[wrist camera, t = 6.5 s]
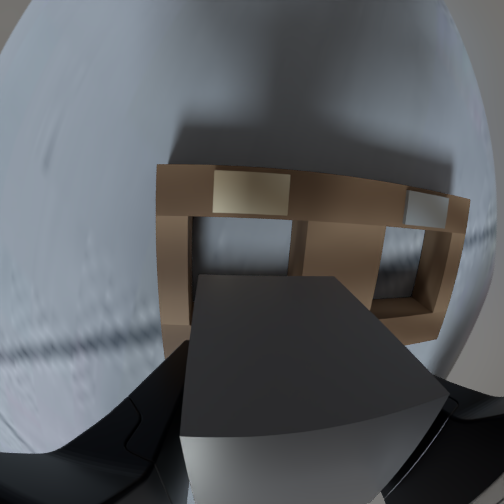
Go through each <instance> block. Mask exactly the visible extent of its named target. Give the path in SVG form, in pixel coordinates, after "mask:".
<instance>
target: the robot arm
mask: <svg viewBox="0 0 504 504" xmlns="http://www.w3.org/2000/svg"><path fill="white" fill-rule="evenodd" d="M188 348H189V340H185V341H184V342H183V343H182V344H181V345H180V346H179V347H178V348H177V349H176V350H175V351H174V352H173V353H172V354H171V355H170V356H169V357H167V358H166V359H165V360H164V361H163V362H162V363H161V364H160V365H159V366H158V367H157V368H156V369H155V370H154V371H153V372H152V373H151V374H150V375H149V376H148V377H147V378H146V379H145V380H144V381H143V382H142V383H141V384H140V385H139V386H138V387H137V388H136V389H135V390H134V391H133V392H132V393H131V394H130V395H129V396H128V397H126V398H125V399H124V400H123V401H122V402H121V403H120V404H119V405H118V406H117V407H116V408H114V409H113V410H112V411H111V412H110V413H109V414H108V415H106V416H105V417H104V418H102V419H101V420H100V421H99V422H97V423H96V424H95V425H93V426H92V427H90V428H89V429H88V430H86V431H85V432H83V433H82V434H81V435H79V436H78V437H76V438H75V439H73V440H72V441H71V442H69V443H68V444H66V445H65V446H63V447H61V448H60V449H57V450H55V451H52V452H49V453H42V454H25V453H4V452H0V504H187V496H188V488H189V477H188V473H187V468H186V464H185V459H184V455H183V450H182V445H181V440H180V428H181V416H182V404H183V394H184V384H185V374H186V365H187V357H188ZM433 376H434V377H435V378H436V379H437V380H438V381H439V382H440V383H441V385H442V386H443V387H444V388H445V389H446V390H447V391H448V392H449V393H450V395H449V396H448V398H447V400H446V402H445V404H444V405H443V407H442V409H441V410H440V412H439V414H438V415H437V417H436V419H435V420H434V422H433V423H432V425H431V426H430V428H429V430H428V431H427V433H426V434H425V436H424V437H423V438H422V440H421V441H420V443H419V444H418V446H417V447H416V448H415V450H414V451H413V453H412V454H411V455H410V457H409V458H408V459H407V460H406V462H405V463H404V464H403V466H402V467H401V468H400V469H399V471H398V472H397V473H396V474H395V475H394V477H393V478H392V479H391V480H390V481H389V483H388V484H387V485H386V486H385V487H384V488H383V489H382V490H381V493H382V495H383V498H384V501H385V503H386V504H504V397H494V396H490V395H487V394H483V393H481V392H478V391H474V390H471V389H468V388H465V387H462V386H459V385H457V384H454V383H451V382H449V381H446V380H444V379H442V378H439V377H437V376H435V375H433Z"/></svg>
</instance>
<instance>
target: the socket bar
mask: <svg viewBox="0 0 504 504" xmlns="http://www.w3.org/2000/svg"><path fill="white" fill-rule="evenodd" d="M469 207H470V199H466V198H462V197H458V196H454V195H450V194H445V193H441V192H436V191H431V190H427V189H422V188H417V187H411V186H406V185H401V184H395V183H389V182H383V181H377V180H371V179H364V178H357V177H350V176H343V175H335V174H327V173H318V172H309V171H299V170H288V169H276V168H263V167H247V166H227V165H193V164H157V174H156V253H157V276H158V293H159V306H160V318H161V329H162V339H163V348H164V356H165V359H166V358H167V357H169V356H170V355H171V354H172V353H173V352H174V351H175V350H176V349H177V348H178V347H179V346H180V345H181V344H182V343H183V342H184V341H185V340H190V332H191V324H192V317H193V310H194V303H195V302H193V290H192V225H193V216H202V217H236V218H261V219H283V220H292V232H291V242H290V253H289V263H288V272H287V276H334V277H335V278H336V279H338V280H339V281H340V282H341V283H342V284H343V285H344V286H345V287H346V288H347V289H348V290H349V291H350V292H351V293H352V294H353V295H354V296H355V297H356V298H357V299H358V300H359V301H360V302H361V303H362V304H363V305H364V306H365V307H366V308H367V309H368V310H370V311H371V312H372V313H373V314H374V315H375V316H376V317H377V318H378V319H379V320H380V321H381V322H382V323H383V324H384V325H385V326H386V327H387V328H388V329H389V330H390V331H391V332H392V333H393V334H394V335H395V336H396V337H397V338H398V340H399V341H400V342H401V343H402V344H403V345H410V344H415V343H420V342H425V341H430V340H435V339H437V337H438V335H439V332H440V329H441V326H442V323H443V320H444V317H445V314H446V311H447V308H448V305H449V301H450V298H451V295H452V291H453V287H454V284H455V280H456V276H457V272H458V268H459V263H460V259H461V254H462V249H463V244H464V239H465V233H466V228H467V221H468V214H469ZM386 226H389V227H401V228H412V229H422V230H425V236H424V242H423V247H422V252H421V258H420V262H419V267H418V272H417V276H416V280H415V285H414V289H413V293H412V296H411V297H402V298H387V299H373V295H374V290H375V286H376V281H377V276H378V271H379V266H380V260H381V255H382V249H383V243H384V236H385V230H386Z"/></svg>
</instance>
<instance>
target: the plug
mask: <svg viewBox="0 0 504 504" xmlns="http://www.w3.org/2000/svg"><path fill="white" fill-rule="evenodd" d="M449 395H450V393H449V392H448V391H447V390H446V389H445V388H444V387H443V386H442V385H441V383H440V382H439V381H438V380H437V379H436V378H435V377H434V376H433V375H432V374H431V373H430V372H429V371H428V370H427V369H426V367H425V366H424V365H423V364H422V363H421V362H420V361H419V360H418V359H417V358H416V357H415V356H414V355H413V354H412V353H411V352H410V351H409V350H408V349H407V348H406V347H405V346H404V345H403V344H402V343H401V342H400V341H399V340H398V338H397V337H396V336H395V335H394V334H393V333H392V332H391V331H390V330H389V329H388V328H387V327H386V326H385V325H384V324H383V323H382V322H381V321H380V320H379V319H378V318H377V317H376V316H375V315H374V314H373V313H372V312H371V311H370V310H368V309H367V308H366V307H365V306H364V305H363V304H362V303H361V302H360V301H359V300H358V299H357V298H356V297H355V296H354V295H353V294H352V293H351V292H350V291H349V290H348V289H347V288H346V287H345V286H344V285H343V284H342V283H341V282H340V281H339V280H338V279H336V278H335V277H334V276H249V275H203V274H199V276H198V282H197V289H196V296H195V303H194V310H193V317H192V324H191V332H190V340H189V348H188V357H187V365H186V374H185V384H184V394H183V404H182V416H181V428H180V440H181V445H182V450H183V455H184V459H185V464H186V468H187V473H188V477H189V481H190V485H191V489H192V493H193V497H194V501H195V504H367V503H370V502H371V501H372V500H373V499H374V498H375V497H376V496H377V495H378V494H379V493H380V492H381V490H382V489H383V488H384V487H385V486H386V485H387V484H388V483H389V481H390V480H391V479H392V478H393V477H394V475H395V474H396V473H397V472H398V471H399V469H400V468H401V467H402V466H403V464H404V463H405V462H406V460H407V459H408V458H409V457H410V455H411V454H412V453H413V451H414V450H415V448H416V447H417V446H418V444H419V443H420V441H421V440H422V438H423V437H424V436H425V434H426V433H427V431H428V430H429V428H430V426H431V425H432V423H433V422H434V420H435V419H436V417H437V415H438V414H439V412H440V410H441V409H442V407H443V405H444V404H445V402H446V400H447V398H448V396H449Z"/></svg>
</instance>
